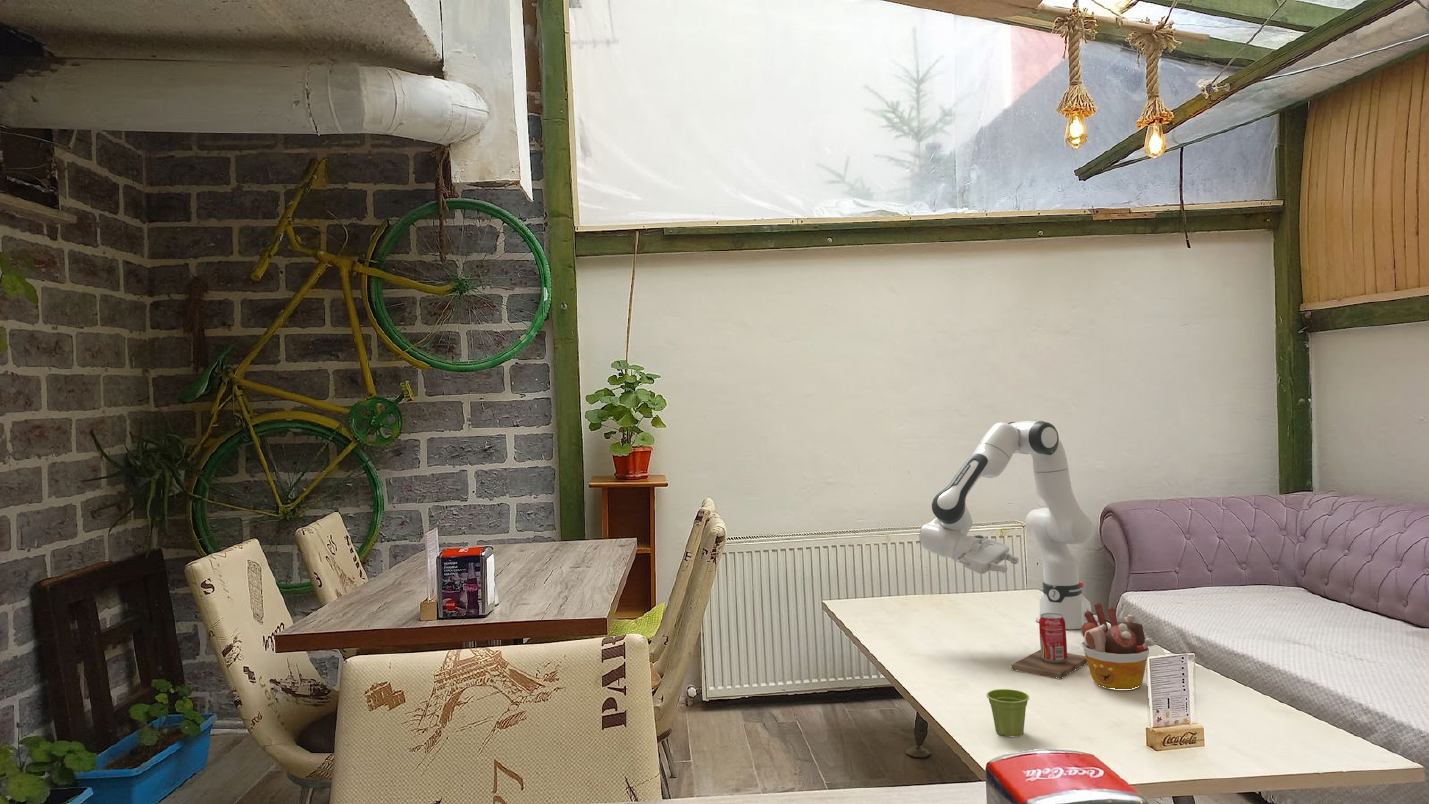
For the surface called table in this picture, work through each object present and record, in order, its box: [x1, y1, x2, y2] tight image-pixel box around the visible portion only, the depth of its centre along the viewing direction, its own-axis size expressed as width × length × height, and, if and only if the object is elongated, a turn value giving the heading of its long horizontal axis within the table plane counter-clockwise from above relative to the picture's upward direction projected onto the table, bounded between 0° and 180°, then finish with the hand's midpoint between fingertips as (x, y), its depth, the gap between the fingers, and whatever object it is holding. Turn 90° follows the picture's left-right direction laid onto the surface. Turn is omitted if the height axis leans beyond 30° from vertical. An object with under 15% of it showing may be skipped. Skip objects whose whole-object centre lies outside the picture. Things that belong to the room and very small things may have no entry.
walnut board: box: [1011, 649, 1088, 679], centre depth 248 cm, size 20×14×2 cm
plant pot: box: [986, 688, 1030, 737], centre depth 200 cm, size 9×9×9 cm
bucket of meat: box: [1081, 601, 1156, 689], centre depth 230 cm, size 20×16×20 cm
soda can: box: [1038, 613, 1068, 663], centre depth 248 cm, size 7×7×13 cm
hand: (1012, 565), depth 260 cm, fingers open, 8 cm apart
